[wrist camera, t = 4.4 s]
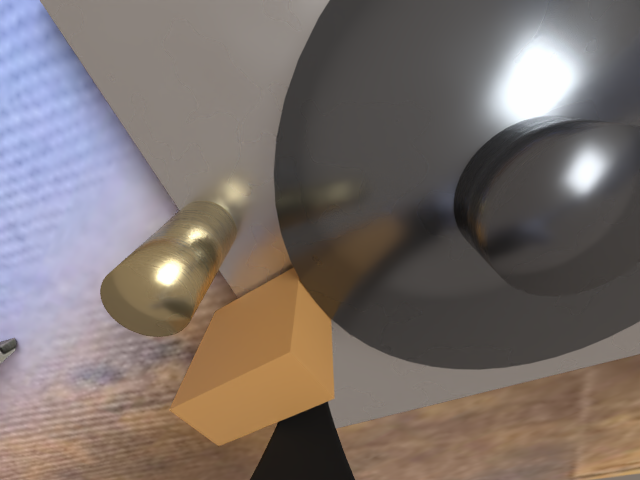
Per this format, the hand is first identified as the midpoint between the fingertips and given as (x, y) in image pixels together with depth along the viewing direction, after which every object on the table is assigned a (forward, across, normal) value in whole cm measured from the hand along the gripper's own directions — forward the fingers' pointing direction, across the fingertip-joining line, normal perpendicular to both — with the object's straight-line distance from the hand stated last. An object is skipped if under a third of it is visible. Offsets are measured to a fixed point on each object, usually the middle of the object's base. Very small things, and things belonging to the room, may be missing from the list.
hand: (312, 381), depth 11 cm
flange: (+2, -5, -6) cm, 8 cm away
